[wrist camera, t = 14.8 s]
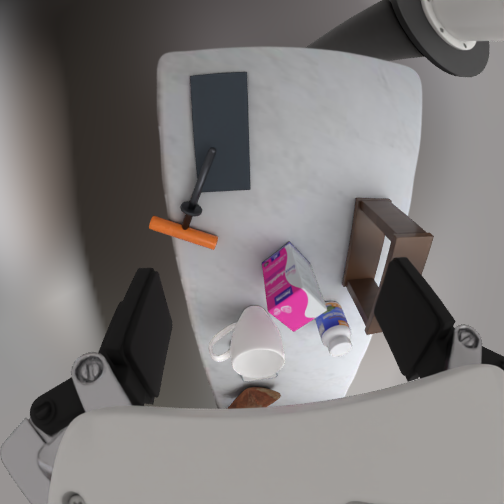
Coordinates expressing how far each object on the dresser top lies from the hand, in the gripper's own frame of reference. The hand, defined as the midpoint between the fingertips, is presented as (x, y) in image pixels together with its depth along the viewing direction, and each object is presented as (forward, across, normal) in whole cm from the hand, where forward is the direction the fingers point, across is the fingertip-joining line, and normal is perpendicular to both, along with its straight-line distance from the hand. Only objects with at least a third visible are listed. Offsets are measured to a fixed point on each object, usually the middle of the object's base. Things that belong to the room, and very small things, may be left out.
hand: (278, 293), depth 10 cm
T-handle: (+25, +4, -1) cm, 25 cm away
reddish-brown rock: (+27, 0, +57) cm, 63 cm away
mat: (+28, +4, -3) cm, 28 cm away
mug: (+28, +2, +28) cm, 40 cm away
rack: (+28, -19, +14) cm, 36 cm away
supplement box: (+28, -5, +17) cm, 33 cm away
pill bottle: (+28, -14, +29) cm, 43 cm away
